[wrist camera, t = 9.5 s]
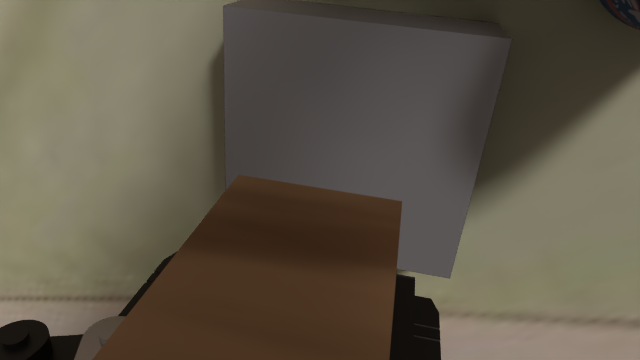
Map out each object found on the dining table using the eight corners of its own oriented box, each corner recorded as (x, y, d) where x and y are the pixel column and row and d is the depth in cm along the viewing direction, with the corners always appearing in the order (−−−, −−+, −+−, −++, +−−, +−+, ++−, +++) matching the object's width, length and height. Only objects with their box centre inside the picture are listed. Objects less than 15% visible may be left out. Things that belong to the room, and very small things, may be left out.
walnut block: (238, 174, 15) (67, 390, 8) (402, 201, 14) (380, 464, 7) (238, 300, 17) (107, 555, 10) (379, 328, 16) (345, 623, 9)
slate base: (252, -4, 24) (223, 5, 20) (498, 23, 22) (512, 39, 19) (249, 202, 30) (226, 237, 26) (446, 235, 28) (449, 278, 24)
